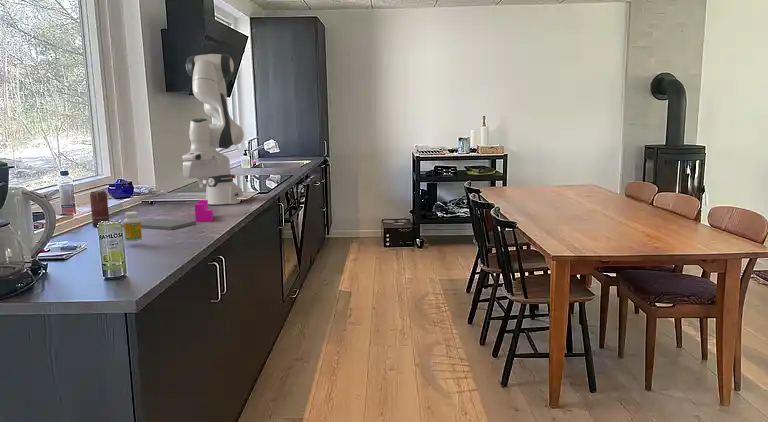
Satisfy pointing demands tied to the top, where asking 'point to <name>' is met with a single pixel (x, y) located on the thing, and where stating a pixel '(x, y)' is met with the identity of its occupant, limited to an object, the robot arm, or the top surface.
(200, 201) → the toy block
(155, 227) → the slate pad
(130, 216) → the supplement bottle
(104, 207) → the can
